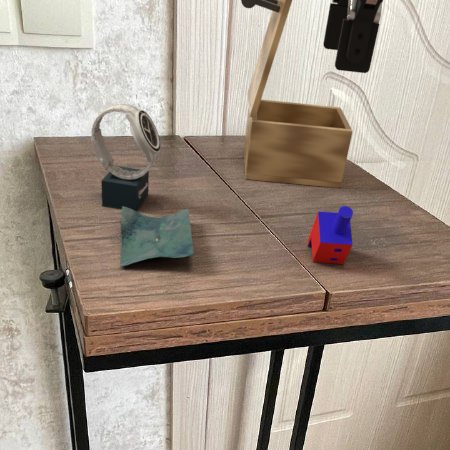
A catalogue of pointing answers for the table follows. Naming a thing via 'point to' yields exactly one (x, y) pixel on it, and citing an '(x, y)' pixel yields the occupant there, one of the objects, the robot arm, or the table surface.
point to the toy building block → (331, 236)
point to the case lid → (266, 48)
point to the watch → (122, 176)
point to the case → (297, 144)
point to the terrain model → (154, 236)
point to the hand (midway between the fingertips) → (344, 59)
